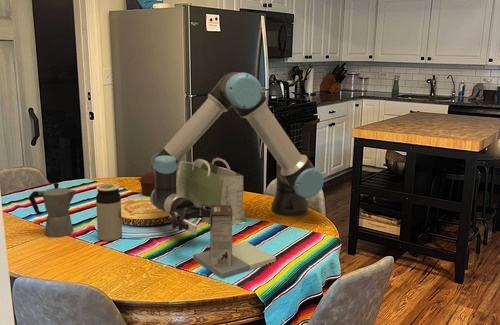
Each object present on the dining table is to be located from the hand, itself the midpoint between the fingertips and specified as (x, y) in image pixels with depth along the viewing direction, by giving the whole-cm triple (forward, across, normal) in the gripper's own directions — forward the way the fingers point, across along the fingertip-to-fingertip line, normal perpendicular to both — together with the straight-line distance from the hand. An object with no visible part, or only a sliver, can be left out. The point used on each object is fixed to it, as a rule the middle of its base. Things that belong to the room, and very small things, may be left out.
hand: (214, 225), depth 145 cm
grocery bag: (-38, -23, -12) cm, 46 cm away
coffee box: (+3, 0, -10) cm, 11 cm away
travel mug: (-37, +18, -12) cm, 43 cm away
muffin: (-77, -17, -12) cm, 80 cm away
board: (+3, -5, -12) cm, 13 cm away
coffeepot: (-51, +32, -12) cm, 62 cm away
